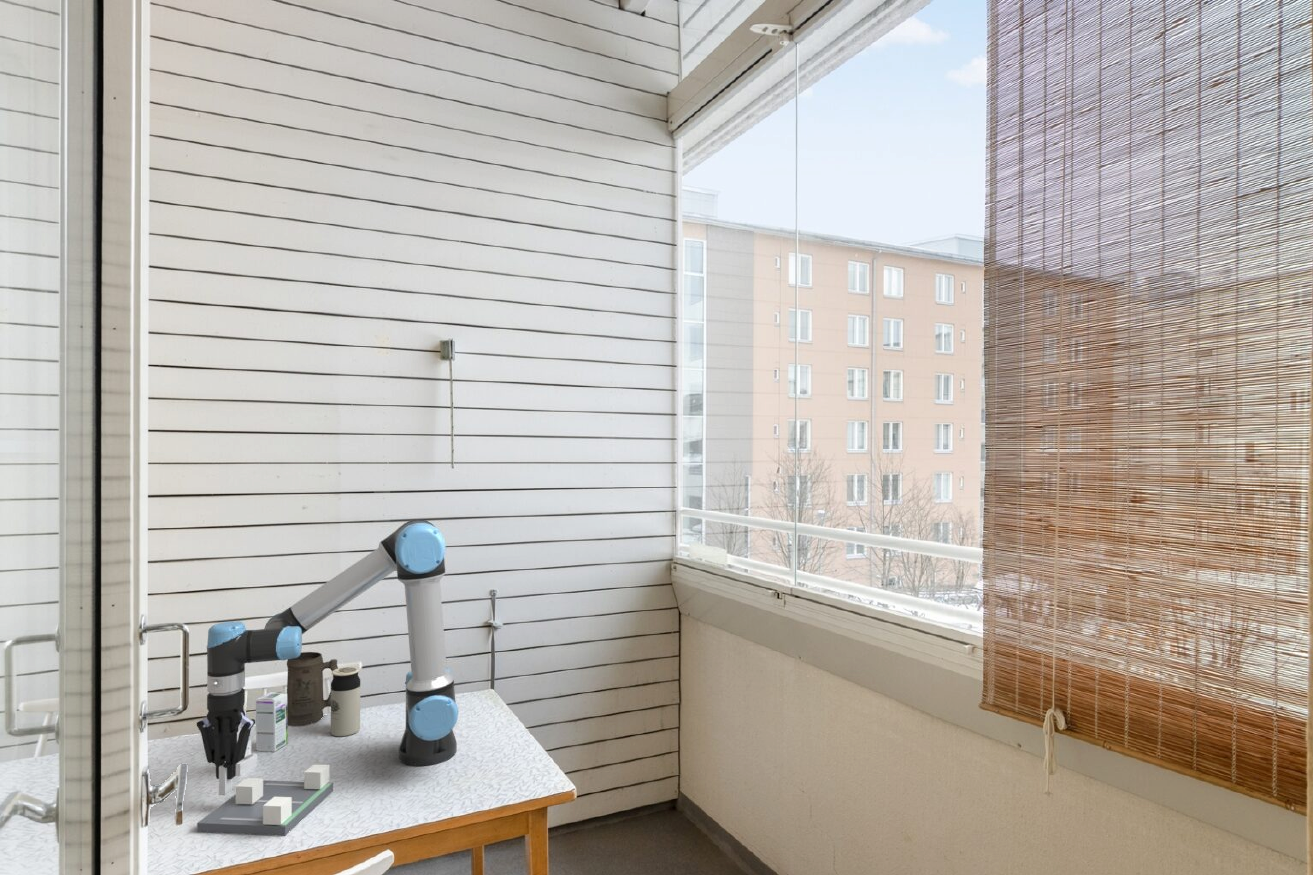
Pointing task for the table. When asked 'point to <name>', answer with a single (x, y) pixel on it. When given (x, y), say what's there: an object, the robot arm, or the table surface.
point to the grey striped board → (251, 815)
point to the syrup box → (271, 721)
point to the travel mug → (345, 701)
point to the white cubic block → (249, 791)
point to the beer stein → (306, 688)
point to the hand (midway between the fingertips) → (225, 792)
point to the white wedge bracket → (246, 761)
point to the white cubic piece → (316, 777)
